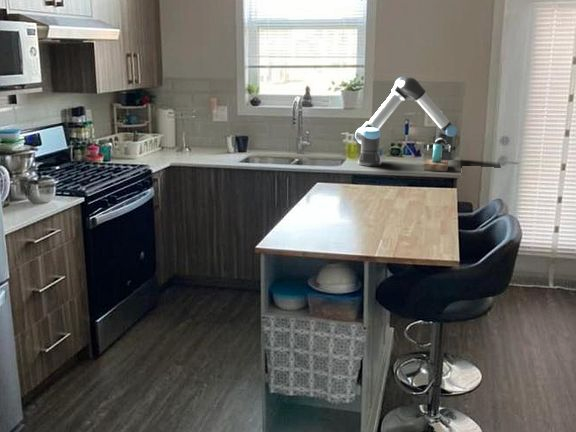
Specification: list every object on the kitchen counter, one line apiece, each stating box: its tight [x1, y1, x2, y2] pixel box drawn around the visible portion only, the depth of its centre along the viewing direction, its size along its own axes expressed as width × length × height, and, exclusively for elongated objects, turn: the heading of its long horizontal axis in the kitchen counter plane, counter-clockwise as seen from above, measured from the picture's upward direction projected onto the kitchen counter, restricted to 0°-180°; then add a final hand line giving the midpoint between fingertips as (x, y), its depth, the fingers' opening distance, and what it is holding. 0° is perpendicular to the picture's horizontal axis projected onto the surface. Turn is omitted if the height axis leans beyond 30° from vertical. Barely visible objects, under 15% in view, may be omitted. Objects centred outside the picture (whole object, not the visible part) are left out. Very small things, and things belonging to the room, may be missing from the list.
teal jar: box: [431, 143, 443, 163], centre depth 403 cm, size 6×6×11 cm
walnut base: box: [423, 158, 449, 172], centre depth 405 cm, size 14×18×4 cm
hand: (438, 149), depth 407 cm, fingers open, 13 cm apart
